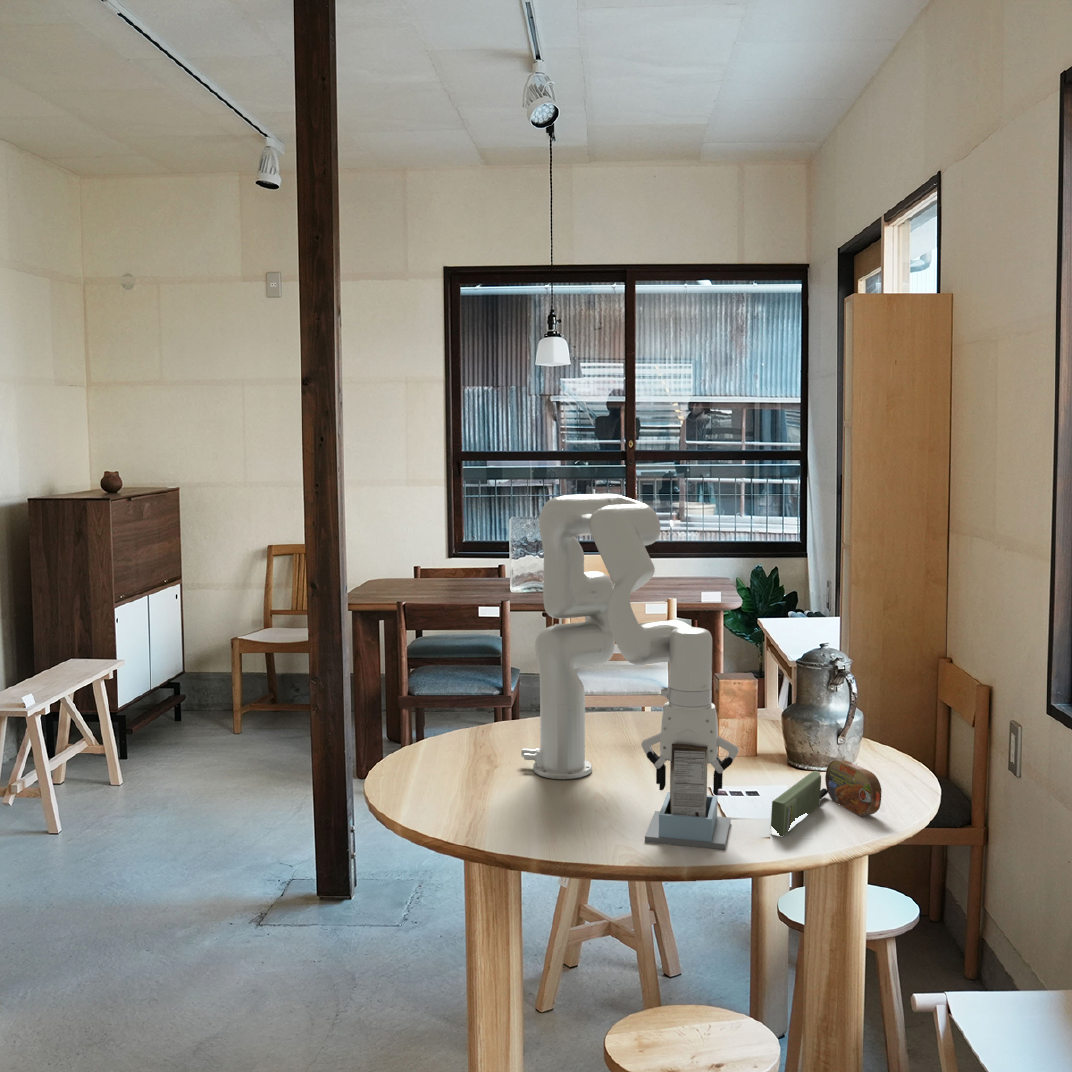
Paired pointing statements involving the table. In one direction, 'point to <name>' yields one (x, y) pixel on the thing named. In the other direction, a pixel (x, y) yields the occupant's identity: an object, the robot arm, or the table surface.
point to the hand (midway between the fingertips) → (689, 790)
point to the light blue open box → (689, 827)
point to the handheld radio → (797, 802)
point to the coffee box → (688, 780)
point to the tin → (853, 787)
